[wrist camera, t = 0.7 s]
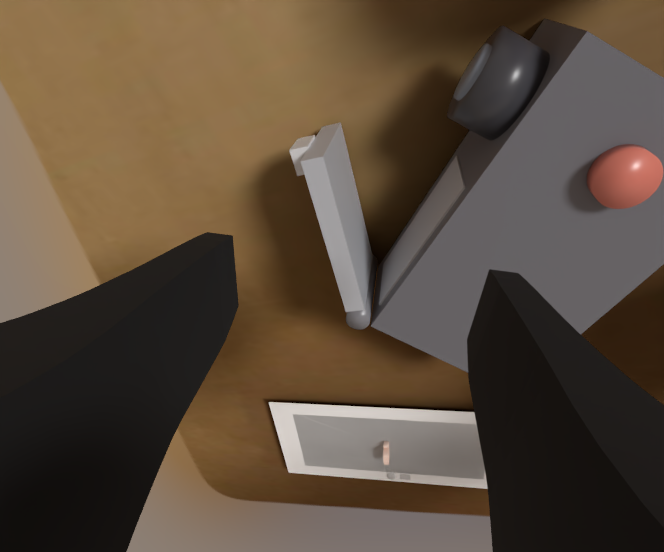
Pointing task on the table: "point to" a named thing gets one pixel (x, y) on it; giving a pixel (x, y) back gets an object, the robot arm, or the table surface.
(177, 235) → the table surface
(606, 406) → the robot arm
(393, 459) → the touchpad
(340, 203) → the door
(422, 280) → the camera body
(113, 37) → the table surface
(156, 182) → the table surface
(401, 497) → the table surface
